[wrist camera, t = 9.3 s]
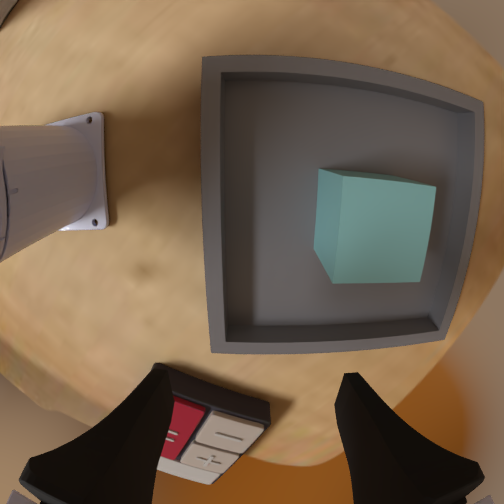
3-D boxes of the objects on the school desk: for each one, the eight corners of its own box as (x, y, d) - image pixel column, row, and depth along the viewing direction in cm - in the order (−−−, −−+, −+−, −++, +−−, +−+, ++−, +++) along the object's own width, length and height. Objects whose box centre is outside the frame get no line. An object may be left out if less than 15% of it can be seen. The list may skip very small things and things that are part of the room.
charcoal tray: (215, 331, 21) (211, 352, 18) (209, 68, 15) (202, 56, 12) (430, 323, 21) (444, 339, 18) (462, 104, 14) (483, 102, 12)
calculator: (273, 429, 20) (212, 489, 24) (270, 395, 25) (214, 462, 28) (144, 386, 19) (120, 460, 23) (157, 353, 23) (130, 434, 27)
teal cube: (313, 248, 18) (332, 283, 13) (318, 168, 16) (342, 175, 12) (384, 250, 18) (419, 281, 13) (393, 175, 16) (436, 186, 12)
